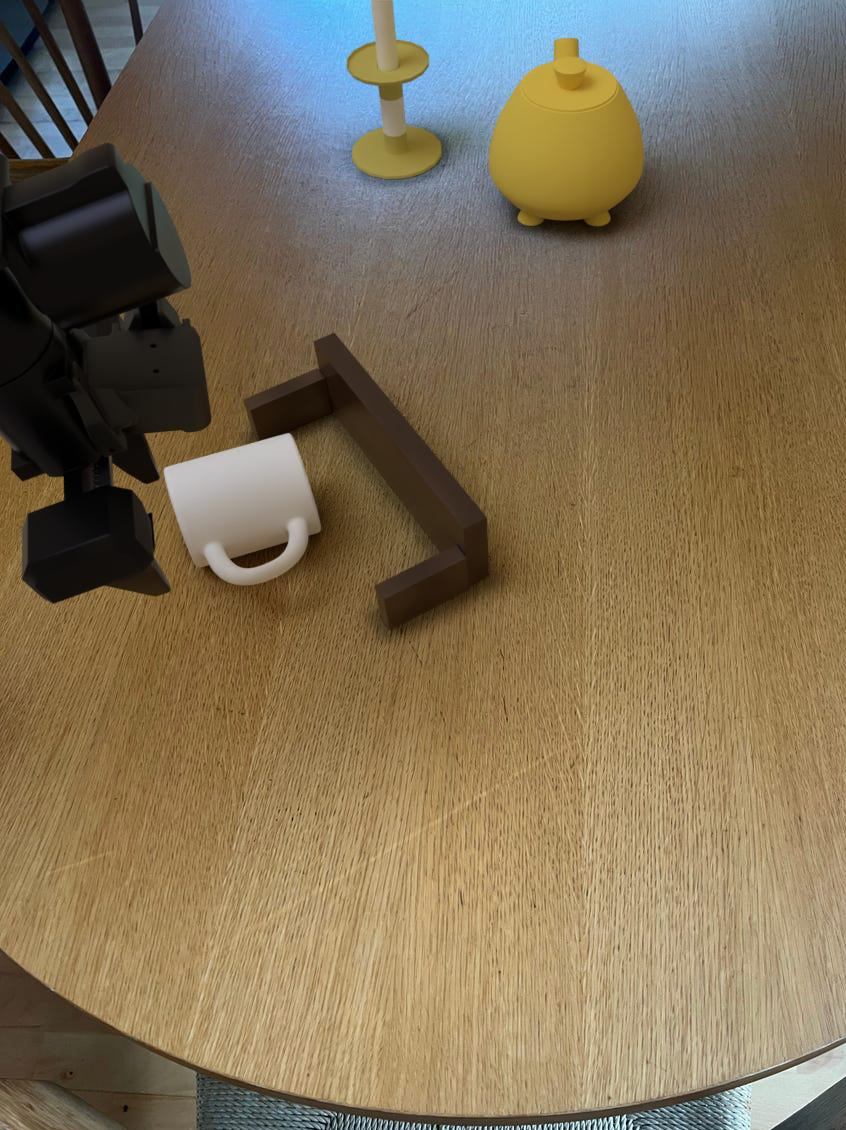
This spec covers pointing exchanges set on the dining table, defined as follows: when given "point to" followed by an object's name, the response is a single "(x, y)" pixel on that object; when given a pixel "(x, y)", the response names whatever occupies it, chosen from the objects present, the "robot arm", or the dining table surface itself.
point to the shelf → (387, 474)
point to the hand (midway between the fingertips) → (158, 533)
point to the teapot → (566, 142)
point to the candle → (392, 102)
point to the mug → (244, 507)
